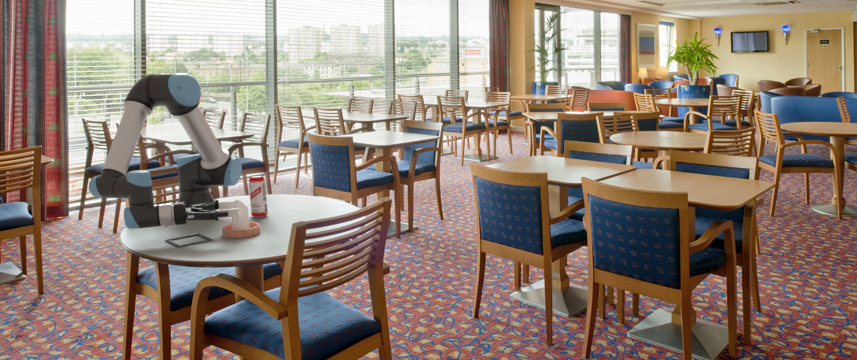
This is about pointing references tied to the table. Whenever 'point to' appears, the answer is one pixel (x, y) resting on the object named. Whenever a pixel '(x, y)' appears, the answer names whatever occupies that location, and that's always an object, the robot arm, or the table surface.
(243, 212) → the white tapered upright piece
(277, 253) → the table surface
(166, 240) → the dark grey square frame
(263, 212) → the beer can
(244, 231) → the bowl
